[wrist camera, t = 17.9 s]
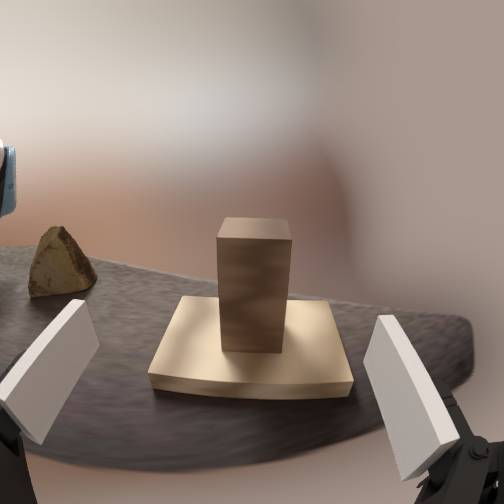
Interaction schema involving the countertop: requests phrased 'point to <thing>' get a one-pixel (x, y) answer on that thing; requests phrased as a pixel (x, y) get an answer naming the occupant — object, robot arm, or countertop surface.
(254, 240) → the walnut block
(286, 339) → the cutting board
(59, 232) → the rock
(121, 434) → the countertop surface
